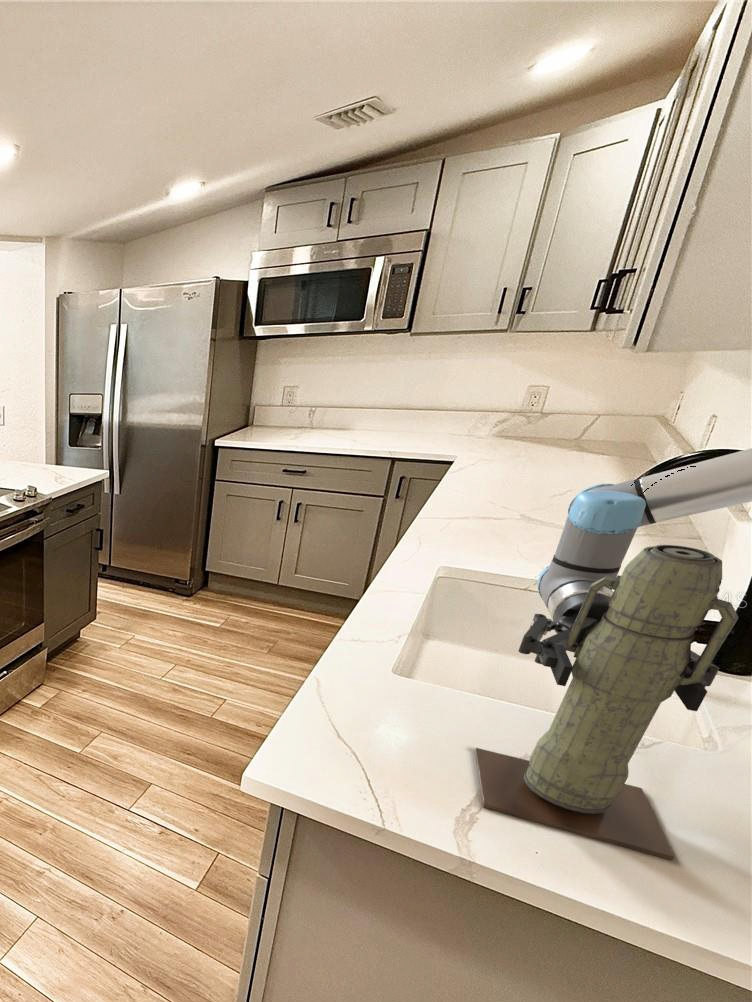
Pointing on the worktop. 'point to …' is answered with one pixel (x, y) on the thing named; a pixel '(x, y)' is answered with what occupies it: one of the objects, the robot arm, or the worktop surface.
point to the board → (618, 824)
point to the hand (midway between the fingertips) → (628, 688)
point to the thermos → (627, 672)
